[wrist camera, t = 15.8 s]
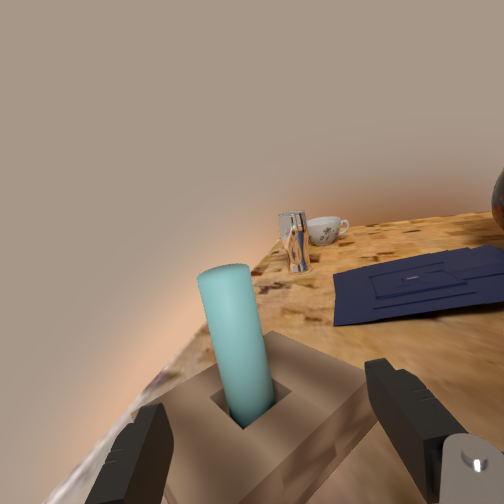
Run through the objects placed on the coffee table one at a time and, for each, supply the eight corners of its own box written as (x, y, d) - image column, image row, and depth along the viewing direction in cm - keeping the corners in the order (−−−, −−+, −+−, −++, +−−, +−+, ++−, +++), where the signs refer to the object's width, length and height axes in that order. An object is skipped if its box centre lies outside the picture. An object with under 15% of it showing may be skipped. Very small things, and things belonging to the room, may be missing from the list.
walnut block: (278, 364, 39) (272, 330, 38) (378, 419, 28) (373, 374, 26) (144, 456, 29) (130, 413, 27) (217, 602, 17) (198, 541, 16)
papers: (586, 310, 36) (583, 283, 35) (337, 342, 45) (332, 321, 45) (487, 255, 58) (484, 238, 58) (335, 284, 68) (331, 270, 67)
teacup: (304, 250, 93) (300, 226, 92) (305, 242, 105) (301, 220, 103) (353, 244, 90) (350, 218, 88) (348, 236, 102) (345, 213, 100)
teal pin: (261, 405, 31) (230, 261, 27) (290, 428, 27) (259, 266, 24) (226, 432, 28) (187, 277, 25) (254, 461, 25) (213, 285, 21)
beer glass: (305, 276, 70) (295, 214, 67) (281, 274, 75) (271, 216, 71) (319, 267, 75) (310, 209, 72) (296, 265, 79) (287, 211, 76)
